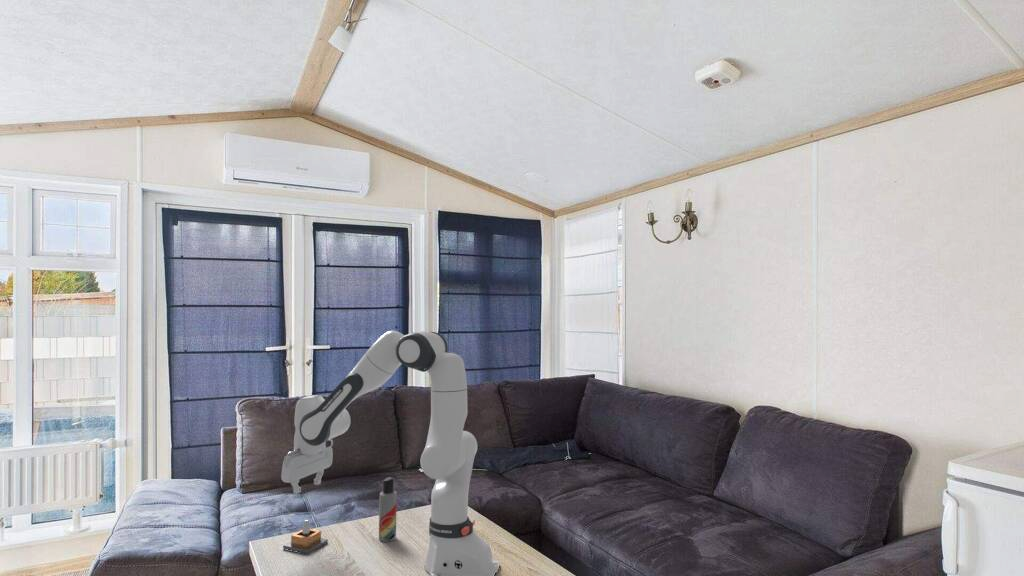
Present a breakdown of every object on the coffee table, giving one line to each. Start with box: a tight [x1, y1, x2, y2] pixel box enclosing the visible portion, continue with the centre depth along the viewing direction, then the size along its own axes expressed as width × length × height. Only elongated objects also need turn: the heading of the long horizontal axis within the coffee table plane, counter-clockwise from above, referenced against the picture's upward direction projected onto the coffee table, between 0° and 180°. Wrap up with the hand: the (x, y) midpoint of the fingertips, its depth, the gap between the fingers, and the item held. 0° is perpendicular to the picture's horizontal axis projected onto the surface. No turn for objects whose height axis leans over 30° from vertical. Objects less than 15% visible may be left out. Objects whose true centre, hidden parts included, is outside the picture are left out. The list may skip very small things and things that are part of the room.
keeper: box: [282, 519, 328, 555], centre depth 176 cm, size 10×9×8 cm
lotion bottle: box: [378, 477, 398, 542], centre depth 183 cm, size 6×6×20 cm
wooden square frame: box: [290, 528, 322, 548], centre depth 176 cm, size 6×6×3 cm
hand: (307, 488), depth 177 cm, fingers open, 8 cm apart
